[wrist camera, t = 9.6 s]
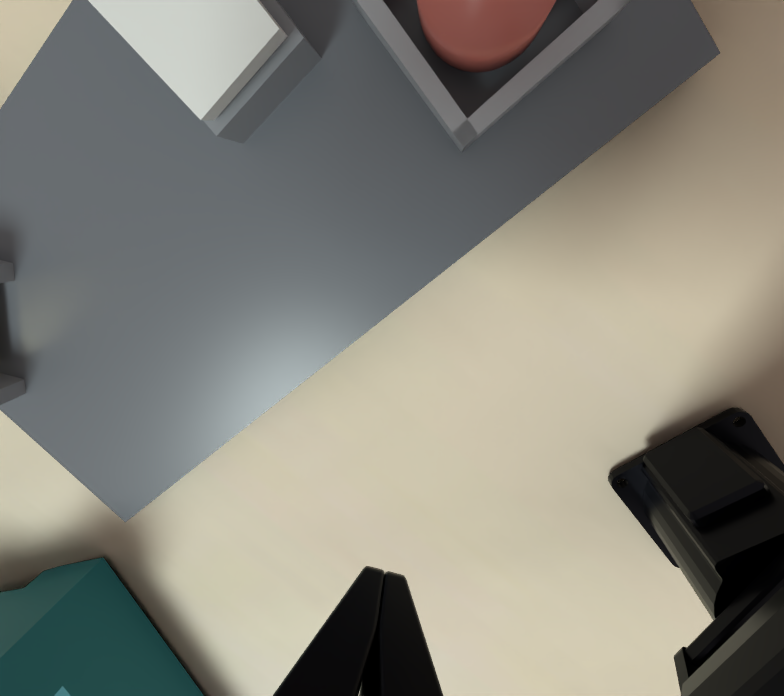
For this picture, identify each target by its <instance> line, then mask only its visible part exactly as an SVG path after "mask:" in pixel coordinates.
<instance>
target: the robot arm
mask: <svg viewBox="0 0 784 696" xmlns="http://www.w3.org/2000/svg"><path fill="white" fill-rule="evenodd" d="M737 417H740V418H739V420H738V421H737V422H734V423H733V421H734V419H735V418H737ZM619 479H624V481H622V482H620V483H618V482H617V481H618V480H619ZM608 481H609V483H610V485H611V486H612V488H613V489H614V491H615V492H616V493H617V494H618V496H619V497H620V498H621V500H622V501H623V502H624V503H625V505H626V506H627V507H628V508H629V510H630V511H631V512H632V514H633V515H634V516H635V517H636V519H637V520H638V521H639V522H640V524H641V525H642V526H643V528H644V529H645V530H646V531H647V533H648V534H649V535H650V536H651V538H652V539H653V540H654V542H655V543H656V544H657V545H658V547H659V548H660V549H661V550H662V552H663V553H664V554H665V556H666V557H667V558H668V559H669V561H670V562H671V563H672V564H673V565H674V566H675V567H678V568H680V569H681V571H682V572H683V574H684V575H685V577H686V578H687V580H688V582H689V583H690V585H691V586H692V588H693V589H694V591H695V592H696V594H697V596H698V597H699V599H700V600H701V602H702V603H703V605H704V606H705V608H706V609H707V611H708V613H709V614H710V616H711V617H712V619H713V620H714V621H713V622H712V623H711V624H710V625H709V626H708V627H707V628H706V629H705V630H704V631H703V632H702V633H701V634H700V635H699V636H698V637H697V638H696V639H695V640H694V641H693V642H692V643H691V644H690V645H689V646H688V647H682V648H681V649H680V650H679V651H678V652H677V653H676V654H675V655H674V661H675V666H676V671H677V676H678V681H679V686H680V691H681V696H784V464H783V463H782V461H781V460H780V458H779V457H778V455H777V454H776V452H775V451H774V449H773V448H772V446H771V445H770V444H769V442H768V441H767V439H766V438H765V436H764V435H763V433H762V432H761V430H760V429H759V427H758V426H757V424H756V423H755V421H754V420H753V418H752V417H751V415H749V414H748V413H747V412H746V411H744V410H743V409H741V408H730V409H728V410H726V411H724V412H722V413H720V414H718V415H716V416H715V417H713V418H711V419H709V420H707V421H705V422H703V423H702V424H700V425H698V426H696V427H694V428H692V429H690V430H689V431H687V432H685V433H683V434H681V435H679V436H677V437H676V438H674V439H672V440H670V441H668V442H666V443H664V444H662V445H661V446H659V447H657V448H655V449H653V450H651V451H649V452H648V453H646V454H644V455H642V456H640V457H638V458H636V459H635V460H633V461H631V462H629V463H627V464H625V465H623V466H622V467H620V468H618V469H616V470H614V471H613V472H611V473H610V475H609V476H608ZM359 691H360V693H359ZM358 694H359V696H443V693H442V690H441V687H440V684H439V681H438V678H437V674H436V671H435V668H434V665H433V662H432V659H431V656H430V652H429V649H428V646H427V643H426V640H425V637H424V634H423V630H422V627H421V624H420V621H419V618H418V615H417V611H416V608H415V605H414V602H413V599H412V596H411V593H410V589H409V586H408V583H407V580H406V578H405V577H404V576H403V575H401V574H397V573H393V572H389V571H388V572H386V573H385V575H384V571H383V570H382V569H378V568H374V567H370V566H366V567H365V568H364V569H363V570H362V571H361V573H360V574H359V576H358V577H357V578H356V580H355V581H354V583H353V584H352V585H351V587H350V588H349V590H348V591H347V592H346V594H345V595H344V597H343V598H342V599H341V601H340V602H339V604H338V605H337V606H336V608H335V609H334V611H333V612H332V613H331V615H330V616H329V618H328V619H327V620H326V622H325V623H324V625H323V626H322V627H321V629H320V630H319V632H318V633H317V634H316V636H315V637H314V639H313V640H312V641H311V643H310V644H309V646H308V647H307V648H306V650H305V651H304V653H303V654H302V655H301V657H300V658H299V660H298V661H297V662H296V664H295V665H294V667H293V668H292V669H291V671H290V672H289V674H288V675H287V676H286V678H285V679H284V681H283V682H282V683H281V685H280V686H279V688H278V689H277V690H276V692H275V693H274V695H273V696H358Z"/></svg>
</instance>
